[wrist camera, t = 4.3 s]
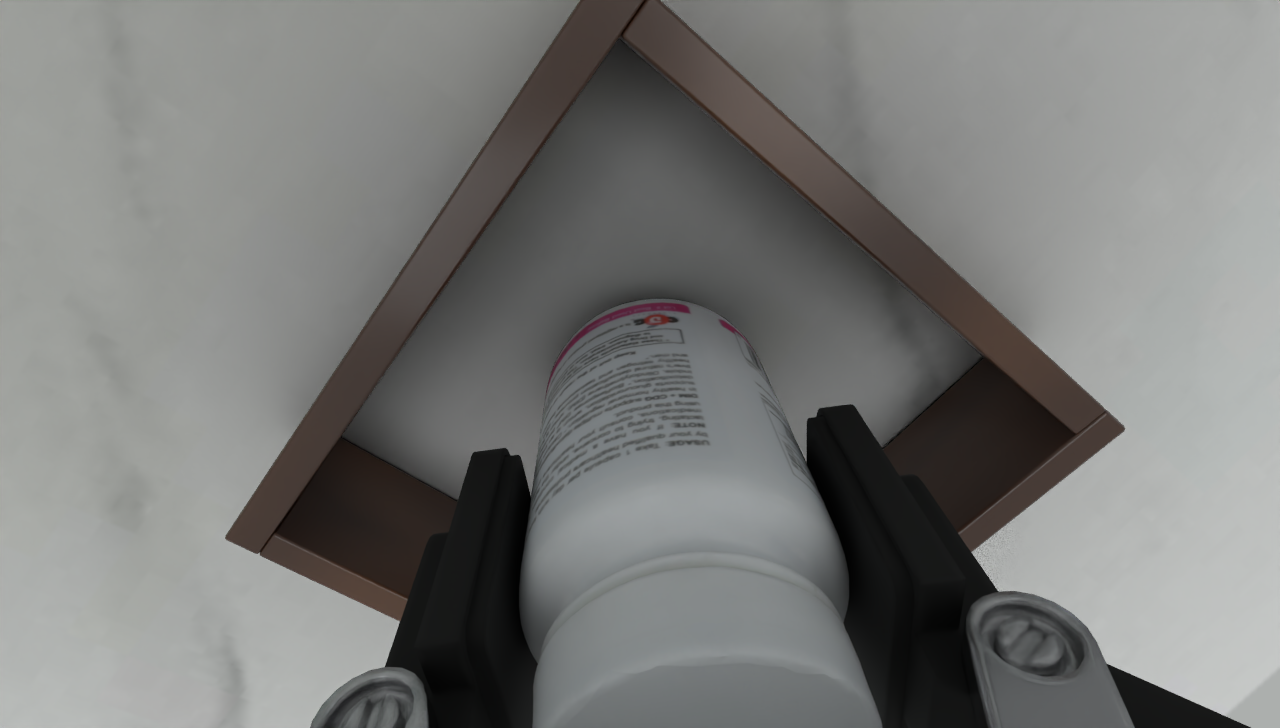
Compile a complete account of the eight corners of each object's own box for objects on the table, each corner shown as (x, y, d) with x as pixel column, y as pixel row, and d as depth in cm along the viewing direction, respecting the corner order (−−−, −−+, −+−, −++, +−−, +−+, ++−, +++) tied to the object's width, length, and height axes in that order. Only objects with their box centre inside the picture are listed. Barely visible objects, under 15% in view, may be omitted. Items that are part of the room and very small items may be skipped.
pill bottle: (522, 449, 15) (444, 860, 8) (585, 262, 13) (562, 577, 6) (711, 498, 16) (803, 908, 9) (797, 332, 14) (1012, 679, 7)
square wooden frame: (298, 440, 16) (222, 539, 13) (610, -25, 12) (610, -47, 9) (689, 649, 20) (704, 765, 17) (1024, 351, 16) (1129, 429, 13)
